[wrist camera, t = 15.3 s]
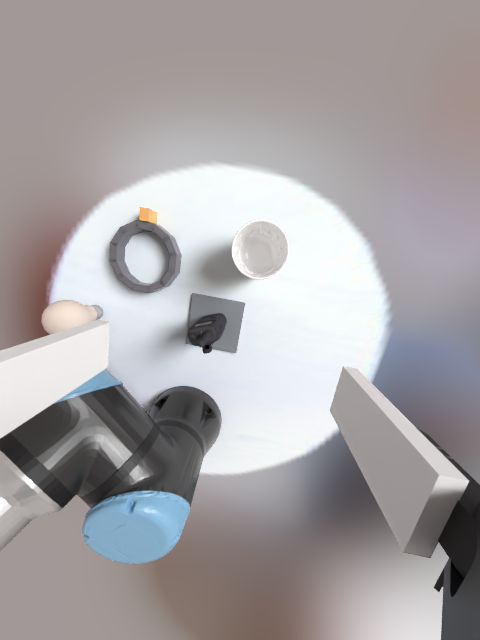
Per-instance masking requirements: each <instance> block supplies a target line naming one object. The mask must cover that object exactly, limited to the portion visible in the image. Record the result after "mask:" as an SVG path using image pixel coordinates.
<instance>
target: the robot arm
mask: <svg viewBox="0 0 480 640" xmlns="http://www.w3.org/2000/svg"><path fill="white" fill-rule="evenodd" d="M109 327H110V322H105V321H99V320H95V321H92V322H89V323H85V324H82V325H79V326H76V327H73V328H70V329H67V330H64V331H60V332H57V333H54V334H51V335H48V336H45V337H42V338H39V339H36V340H32V341H29V342H26V343H23V344H20V345H17V346H14V347H11V348H8V349H5V350H1V351H0V551H1V550H2V549H3V548H4V547H5V546H6V545H7V544H8V543H9V542H10V541H11V540H12V539H13V538H14V537H15V536H16V535H17V534H18V533H19V532H20V531H21V530H22V529H23V528H24V527H26V525H27V524H29V522H30V521H32V520H33V519H35V518H37V517H38V516H40V515H45V514H50V513H54V512H58V511H60V510H61V509H62V508H63V507H64V506H65V505H66V504H67V503H68V502H69V501H70V500H71V499H72V498H73V497H74V496H75V495H78V496H79V497H80V498H81V499H82V500H83V501H85V502H86V503H87V505H88V506H89V507H90V508H91V509H90V510H89V511H88V513H87V514H86V517H85V521H84V523H83V529H82V530H83V534H84V539H85V541H86V543H87V544H88V546H89V547H91V549H92V550H93V551H95V552H96V553H98V554H99V555H101V556H103V557H105V558H107V559H110V560H113V561H117V562H122V563H132V564H135V563H136V564H137V563H146V562H150V561H153V560H156V559H159V558H161V557H163V556H164V555H166V554H167V553H168V552H170V551H171V550H172V549H173V547H174V546H175V545H176V544H177V542H178V540H179V538H180V536H181V533H182V530H183V527H184V524H185V522H186V519H187V517H188V515H189V513H190V506H191V502H192V499H193V495H194V491H195V487H196V483H197V480H198V476H199V472H200V469H201V465H202V461H203V457H204V456H205V455H206V453H207V452H208V451H209V449H210V448H211V447H212V445H213V444H214V443H215V441H216V440H217V437H218V435H219V431H220V427H221V413H220V410H219V408H218V406H217V404H216V403H215V401H214V400H213V399H212V398H211V397H210V396H209V395H208V394H206V393H205V392H203V391H201V390H199V389H196V388H193V387H187V386H180V387H174V388H171V389H169V390H167V391H165V392H164V393H162V394H161V395H160V396H159V397H158V399H157V400H156V401H155V403H154V404H153V406H152V408H151V410H150V413H149V415H148V414H147V412H146V411H145V410H144V409H143V408H142V407H141V406H140V405H139V403H138V402H137V401H136V400H135V399H134V398H133V397H132V396H131V395H130V393H129V392H128V391H127V390H126V389H125V388H124V387H123V384H122V382H121V381H118V380H117V379H116V378H115V377H114V376H113V375H112V374H111V373H110V372H109V371H108V370H107V369H106V368H107V367H108V352H109ZM330 412H331V414H332V416H333V418H334V419H335V421H336V423H337V425H338V427H339V429H340V431H341V433H342V435H343V437H344V439H345V441H346V443H347V444H348V446H349V448H350V450H351V452H352V454H353V456H354V458H355V460H356V462H357V464H358V466H359V468H360V469H361V472H362V473H363V476H364V477H365V479H366V481H367V483H368V485H369V487H370V489H371V491H372V493H373V495H374V496H375V499H376V501H377V502H378V505H379V507H380V508H381V510H382V512H383V514H384V516H385V518H386V520H387V522H388V524H389V526H390V528H391V530H392V532H393V533H394V536H395V537H396V539H397V541H398V543H399V545H400V547H401V549H402V551H403V552H404V553H408V554H413V555H418V556H422V557H427V558H431V556H432V554H433V552H434V550H435V548H436V546H437V544H438V542H439V543H440V544H441V546H442V547H443V549H444V550H445V552H446V553H447V555H448V556H449V560H448V561H447V563H446V565H445V567H444V569H443V571H442V573H441V575H440V576H439V579H438V580H437V582H436V584H435V586H434V588H435V589H436V590H437V591H438V592H439V591H440V589H441V587H443V609H442V631H441V640H480V485H479V484H478V483H477V482H476V481H475V480H474V479H473V478H472V477H471V476H470V475H469V474H468V473H467V472H466V471H464V469H463V468H462V467H461V466H460V465H459V464H458V463H456V462H455V461H454V460H453V459H451V458H450V456H449V455H448V454H447V453H446V452H445V451H444V450H443V449H441V448H440V446H439V445H438V444H437V443H436V442H435V441H434V440H433V439H432V438H431V437H430V436H428V435H427V434H425V433H424V432H423V431H421V430H420V429H418V428H417V427H416V426H414V425H413V424H412V423H411V422H410V421H409V420H408V419H407V418H406V417H405V416H404V415H403V414H402V413H401V412H399V411H398V409H397V408H396V407H394V405H393V404H392V403H391V402H390V401H389V400H388V399H387V398H385V396H384V395H382V394H381V392H380V391H378V389H377V388H376V387H375V386H373V384H372V383H371V382H370V381H369V380H368V379H367V378H366V377H365V376H364V375H363V374H362V373H361V372H360V371H359V370H358V369H354V368H349V367H343V369H342V372H341V375H340V379H339V382H338V385H337V388H336V392H335V395H334V398H333V402H332V405H331V408H330Z"/></svg>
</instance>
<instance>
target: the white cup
mask: <svg viewBox="0 0 480 640" xmlns="http://www.w3.org/2000/svg"><path fill="white" fill-rule="evenodd" d="M288 256H289V242H288V238H287V236H286V234H285V232H284V231H283V230H282V229H281V227H279V226H278V225H277V224H275V223H273V222H271V221H268V220H254V221H251V222H249V223H247V224H245V225H244V226H243V227H241V228H240V230H239V231H238V232H237V233H236V235H235V237H234V240H233V243H232V258H233V261H234V264H235V266H236V267H237V269H238V270H239V271H240V272H241V273H242V274H244V275H245V276H247V277H249V278H251V279H256V280H263V279H268V278H271V277H273V276H275V275H276V274H278V273H279V272H280V271H281V270H282V269H283V267H284V266H285V264H286V262H287V260H288Z"/></svg>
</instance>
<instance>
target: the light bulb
mask: <svg viewBox="0 0 480 640" xmlns="http://www.w3.org/2000/svg"><path fill="white" fill-rule="evenodd" d="M102 315H103V310H102V309H101V307H99V306H97V305H93V306H88V305H82V304H80V303H78V302H75V301H70V300H63V301H57V302H55V303H52V304H51V305H49V306H48V307H47V308H46V309H45V310H44V312H43V314H42V321H41V322H42V325H43V327H44V329H45V330H46V331H47V332H48V333H49V334H50V335H51V334H54V333H57V332H60V331H64V330H67V329H70V328H73V327H76V326H79V325H82V324H85V323H89V322H92V321H95V320H96V319H99V318H101V317H102Z"/></svg>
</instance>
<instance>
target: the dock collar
mask: <svg viewBox="0 0 480 640" xmlns="http://www.w3.org/2000/svg"><path fill="white" fill-rule="evenodd" d="M139 220H140V221H138V220H135V221H133V222H131V223H129V224H126V225H124V226H122V227H120V228H119V230H118V231H117V233H116V234H115V236H114V238H113V239H112V241H111V242H110V263H111V265H112V267H113V269H114V271H115V273H116V276H117V278H118V279H119V280H121V281H122V282H123V283H124V284H126V285H127V286H128V287H129V288H131V289H132V290H137V291H142V292H148V293H150V292H154V291H157V290H160V289H162V288H165V287H168V286H170V285H171V283H172V282H173V281H174V279H175V278H176V277H177V275H178V274H179V273H180V264H181V253H180V250H179V248H178V245H177V243H176V240H175V238H174V237H173V236H172V235H171V234H169V233H168V232H167V231H166V230H165V229H163V228H162V227H161V226H159V225H157V224H156V222H157V213H156V212H154V211H152V210H151V209H148V208H142V207H140V216H139ZM144 230H145V231H151V232H154V233H156V234H157V235H158V236H159V237H160V238H162V239H163V240H164V242H165V244H166V247H167V249H168V252H169V254H170V259H169V269H168V271H167V272H166V274H165V275H164V277H163V278H162V279H161V281H159V282H156V283H154V284H146V283H141V282H140V281H138V280H137V279H136V278H135V277H134V276H132V275H131V274H130V272H129V270H128V268H127V266H126V263H125V261H124V257H125V246H126V245H127V243H128V242H129V240H130V239H131V237H132V236H133V235H135V234H137V233H140V232H142V231H144Z"/></svg>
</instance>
